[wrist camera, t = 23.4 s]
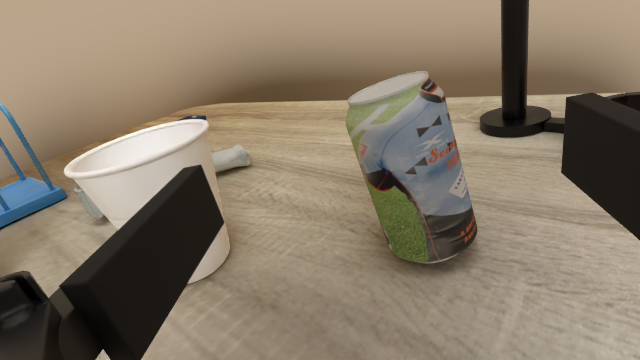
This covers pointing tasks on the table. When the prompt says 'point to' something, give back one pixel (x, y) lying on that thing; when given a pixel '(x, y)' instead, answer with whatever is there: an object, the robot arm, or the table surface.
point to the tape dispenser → (221, 162)
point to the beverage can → (412, 167)
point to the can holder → (524, 83)
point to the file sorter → (25, 186)
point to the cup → (149, 175)
